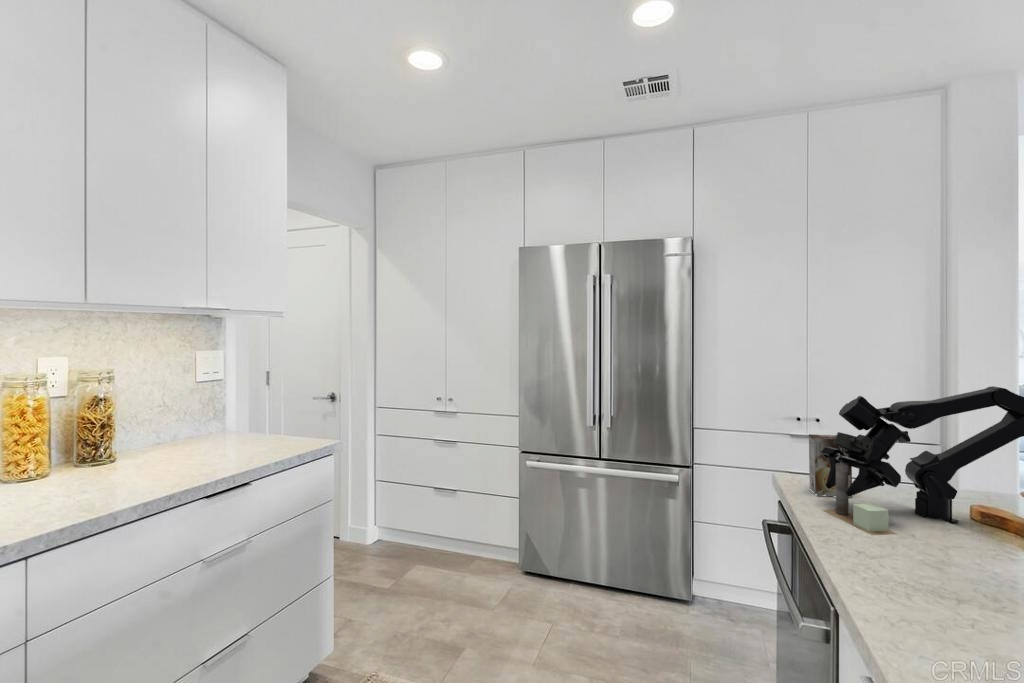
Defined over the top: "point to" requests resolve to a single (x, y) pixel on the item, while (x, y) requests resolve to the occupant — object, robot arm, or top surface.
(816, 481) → the coffee box
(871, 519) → the sage cube
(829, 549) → the top surface
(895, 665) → the top surface
